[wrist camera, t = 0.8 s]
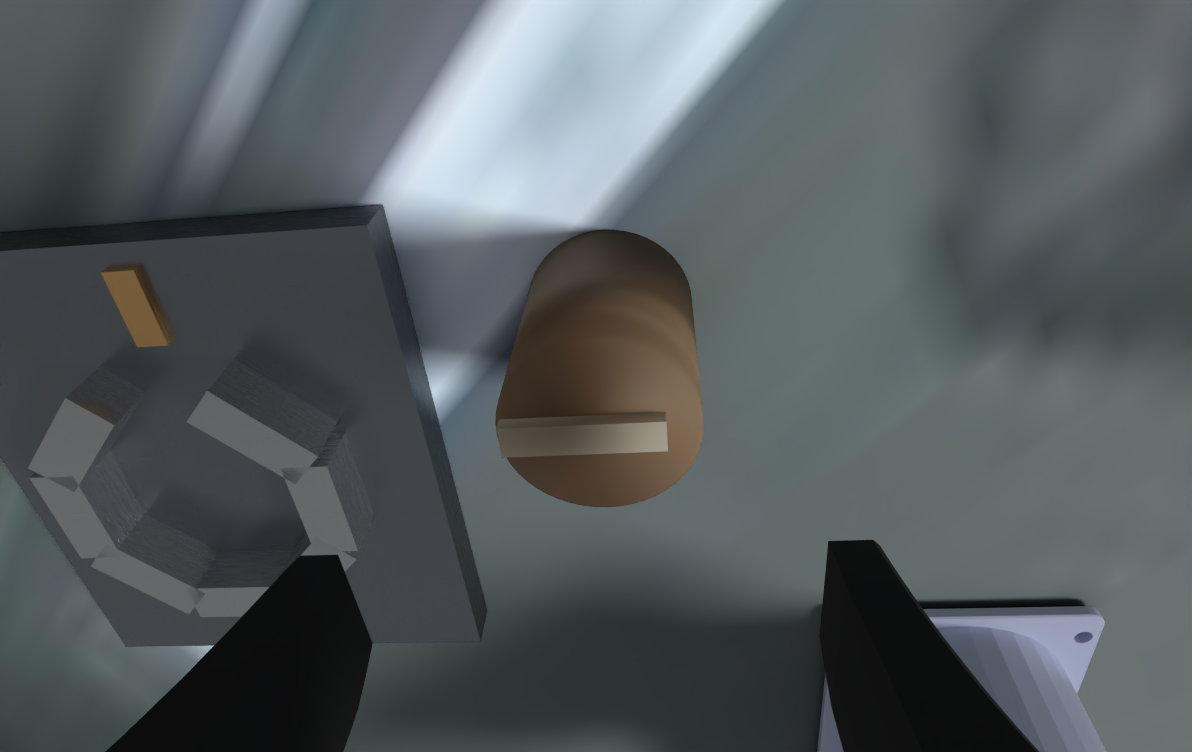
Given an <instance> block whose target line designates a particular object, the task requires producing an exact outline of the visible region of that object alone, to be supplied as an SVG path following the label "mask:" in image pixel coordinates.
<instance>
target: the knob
mask: <svg viewBox="0 0 1192 752" xmlns="http://www.w3.org/2000/svg"><path fill="white" fill-rule="evenodd" d="M496 431H497V436H498V440H499V444H500V449H501V453H502V458H507V459H508V461H509V462H510V464H511V465H512V466H513V468H514V469H515V470H516V471H517V472H518V473H519V474H520V475H521V476H522V477H523V478H524V479H525V480H526V481H528V482H529V483H530V484H532V485H533V486H534V487H536V488H537V489H539V490H541V491H543V492H544V493H546V494H548V495H551V496H553V497H555V498H557V499H560V500H563V501H566V502H570V503H574V504H578V505H583V506H592V507H615V506H624V505H629V504H634V503H637V502H641V501H644V500H647V499H649V498H652V497H654V496H656V495H658V494H660V493H662V492H664V491H665V490H667V489H668V488H670V487H671V486H673V485H674V484H675V483H676V482H678V481H679V480H680V479H681V478H682V477H683V476H684V475H685V474H686V472H687V471H688V470H689V469H690V467H691V466H692V464H693V463H694V461H695V459H696V458H697V455H698V453H699V450H700V448H701V444H702V439H703V431H704V422H703V412H702V402H701V391H700V381H699V370H698V360H697V349H696V339H695V329H694V318H693V308H692V298H691V290H690V287H689V283H688V280H687V278H686V276H685V273H684V272H683V270H682V268H681V267H680V265H679V264H678V262H677V261H676V260H675V259H674V258H673V256H672V255H670V254H669V253H668V252H667V251H666V250H665V249H664V248H662V247H661V246H660V245H658V244H657V243H655V242H653V241H651V240H649V239H648V238H645V237H643V236H640V235H637V234H634V233H630V232H626V231H619V230H599V231H591V232H587V233H584V234H580V235H578V236H575V237H573V238H570V239H568V240H567V241H565V242H563V243H561V244H560V245H559V246H557V247H556V248H555V249H553V250H552V251H551V252H550V253H549V254H548V255H547V256H546V257H545V259H544V260H543V261H542V262H541V264H540V265H539V267H538V269H537V271H536V272H535V275H534V277H533V280H532V283H531V286H530V290H529V293H528V297H527V300H526V304H525V308H524V311H523V315H522V318H521V322H520V325H519V329H518V333H517V336H516V340H515V343H514V347H513V350H512V354H511V358H510V361H509V365H508V368H507V372H506V375H505V379H504V382H503V386H502V390H501V393H500V397H499V400H498V405H497V410H496Z"/></svg>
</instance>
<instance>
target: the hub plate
mask: <svg viewBox="0 0 1192 752" xmlns="http://www.w3.org/2000/svg"><path fill="white" fill-rule="evenodd" d="M0 457H1V458H2V460H3V461H4V463H5V464H6V466H7V467H8V469H9V470H10V472H11V473H12V475H13V476H14V478H15V479H16V481H17V482H18V484H19V485H20V487H21V488H22V490H23V491H24V493H25V494H26V496H27V497H28V499H29V501H30V502H31V504H32V505H33V507H34V508H35V510H36V511H37V513H38V514H39V516H40V517H41V519H42V520H43V522H44V523H45V525H46V526H47V528H48V529H49V531H50V532H51V534H52V535H53V537H54V538H55V540H56V541H57V543H58V545H59V546H60V548H61V549H62V551H63V552H64V554H65V555H66V557H67V558H68V560H69V561H70V563H71V564H72V566H73V567H74V569H75V570H76V572H77V573H78V575H79V576H80V578H81V579H82V581H83V582H84V584H85V585H86V587H87V588H88V590H89V592H90V593H91V595H92V596H93V598H94V599H95V601H96V602H97V604H98V605H99V607H100V608H101V610H102V611H103V613H104V614H105V616H106V617H107V619H108V620H109V622H110V623H111V625H112V626H113V628H114V629H115V631H116V632H117V634H118V635H119V637H120V639H121V640H122V642H123V643H124V645H125V646H126V647H136V646H204V645H215V644H216V643H217V642H218V641H219V640H220V639H221V638H222V637H223V636H224V635H225V634H226V633H227V632H228V631H229V630H230V629H231V628H232V626H233V625H234V624H235V623H236V622H237V621H238V620H239V619H240V618H241V617H242V616H243V615H244V614H245V613H246V612H247V611H248V609H249V608H250V607H251V606H252V605H253V604H254V603H255V602H256V601H257V600H258V599H259V598H260V597H261V596H262V595H263V593H264V592H265V591H266V590H267V589H268V588H269V587H270V586H271V585H272V584H273V583H274V582H275V581H276V580H277V579H278V577H279V576H280V575H281V574H282V573H283V572H284V571H285V570H286V569H287V568H288V567H289V566H290V565H291V564H292V563H293V562H294V561H295V560H296V559H297V558H298V557H299V556H304V555H338V556H339V558H340V561H341V563H342V566H343V569H344V571H345V574H346V576H347V579H348V581H349V584H350V586H351V589H352V592H353V594H354V597H355V599H356V602H357V604H358V607H359V609H360V612H361V615H362V617H363V620H364V622H365V625H366V627H367V630H368V632H369V635H370V638H371V640H372V643H409V642H477V641H481V637H482V633H483V628H484V623H485V619H486V614H487V608H486V604H485V600H484V597H483V593H482V589H481V585H480V581H479V577H478V573H477V569H476V565H475V562H474V558H473V554H472V550H471V546H470V542H469V538H468V534H467V530H466V527H465V523H464V519H463V515H462V511H461V507H460V503H459V499H458V495H457V492H456V488H455V484H454V480H453V476H452V472H451V468H450V464H449V460H448V457H447V453H446V449H445V445H444V441H443V437H442V433H441V429H440V425H439V422H438V418H437V414H436V410H435V406H434V402H433V398H432V394H431V390H430V387H429V383H428V379H427V375H426V371H425V367H424V363H423V359H422V355H421V352H420V348H419V344H418V340H417V336H416V332H415V328H414V324H413V320H412V317H411V313H410V309H409V305H408V301H407V297H406V293H405V289H404V285H403V282H402V278H401V274H400V270H399V266H398V262H397V258H396V254H395V250H394V247H393V243H392V239H391V235H390V231H389V227H388V223H387V219H386V215H385V212H384V208H383V205H375V206H361V207H348V208H334V209H320V210H307V211H293V212H279V213H266V214H252V215H238V216H225V217H211V218H197V219H184V220H170V221H156V222H143V223H129V224H115V225H102V226H88V227H74V228H61V229H47V230H33V231H20V232H6V233H0Z"/></svg>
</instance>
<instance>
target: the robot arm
mask: <svg viewBox="0 0 1192 752" xmlns="http://www.w3.org/2000/svg"><path fill="white" fill-rule="evenodd" d="M1103 627H1104V619H1103V618H1102V616H1101V614H1100V613H1099V611H1098V610H1097V609H1095V608H1093V607H1088V606H1068V607H1012V608H956V609H923V608H922V607H921V606H920V604H919V603H918V602H917V600H916V599H915V597H914V596H913V595H912V593H911V592H910V590H909V589H908V587H907V586H906V585H905V583H904V582H903V580H902V579H901V577H900V576H899V574H898V573H897V571H896V570H895V568H894V567H893V565H892V564H891V562H890V561H889V559H888V558H887V556H886V554H885V553H884V551H883V550H882V548H881V546H880V545H878V544H877V543H876V542H875V541H874V540H853V541H828V552H827V563H826V573H825V584H824V595H823V605H822V616H821V627H820V641H821V648H822V654H823V660H824V666H825V681H824V690H823V700H822V710H821V719H820V729H819V739H818V749H817V752H1106V750H1105V748H1104V746H1103V744H1102V742H1101V740H1100V738H1099V736H1098V734H1097V732H1096V730H1095V728H1094V726H1093V724H1092V722H1091V720H1090V718H1089V716H1088V714H1087V713H1086V711H1085V709H1084V707H1083V705H1082V703H1081V701H1080V699H1079V697H1078V695H1077V693H1078V690H1079V688H1080V685H1081V683H1082V680H1083V678H1084V675H1085V673H1086V670H1087V668H1088V665H1089V662H1090V660H1091V657H1092V655H1093V652H1094V650H1095V647H1096V645H1097V642H1098V640H1099V637H1100V634H1101V632H1102V629H1103ZM371 648H372V640H371V638H370V635H369V632H368V630H367V627H366V625H365V622H364V620H363V617H362V615H361V612H360V609H359V607H358V604H357V602H356V599H355V597H354V594H353V592H352V589H351V586H350V584H349V581H348V579H347V576H346V574H345V571H344V569H343V566H342V563H341V561H340V558H339V556H338V555H304V556H299V557H298V558H297V559H296V560H295V561H294V562H293V563H292V564H291V565H290V566H289V567H288V568H287V569H286V570H285V571H284V572H283V573H282V574H281V575H280V576H279V577H278V579H277V580H276V581H275V582H274V583H273V584H272V585H271V586H270V587H269V588H268V589H267V590H266V591H265V592H264V593H263V595H262V596H261V597H260V598H259V599H258V600H257V601H256V602H255V603H254V604H253V605H252V606H251V607H250V608H249V609H248V611H247V612H246V613H245V614H244V615H243V616H242V617H241V618H240V619H239V620H238V621H237V622H236V623H235V624H234V625H233V626H232V628H231V629H230V630H229V631H228V632H227V633H226V634H225V635H224V636H223V637H222V638H221V639H220V640H219V641H218V642H217V643H216V644H215V645H214V646H213V647H212V648H211V649H210V650H209V652H208V653H207V654H206V655H205V656H204V657H203V658H202V659H201V660H200V661H199V662H198V663H197V664H196V665H195V666H194V667H193V668H192V669H191V670H190V671H189V672H188V673H187V674H186V675H185V676H184V677H183V678H182V679H181V680H180V681H179V682H178V683H177V684H176V685H175V686H174V687H173V688H172V689H171V690H170V691H169V692H168V693H167V694H166V695H165V696H164V697H163V698H162V699H161V700H159V701H158V702H157V703H156V704H155V705H154V706H153V707H152V708H151V709H150V710H149V711H148V712H147V713H146V714H145V715H144V716H143V717H142V718H141V719H140V720H139V721H138V722H137V723H136V724H135V725H134V726H133V727H132V728H130V729H129V730H128V731H127V732H126V733H125V734H124V735H123V736H122V737H121V738H120V739H119V740H118V741H117V742H116V743H114V744H113V745H112V746H111V747H110V748H109V749H108V750H107V751H106V752H343V751H344V748H345V745H346V742H347V739H348V736H349V734H350V731H351V728H352V725H353V722H354V719H355V716H356V713H357V710H358V706H359V702H360V698H361V694H362V690H363V685H364V681H365V677H366V672H367V667H368V662H369V658H370V653H371Z"/></svg>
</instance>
